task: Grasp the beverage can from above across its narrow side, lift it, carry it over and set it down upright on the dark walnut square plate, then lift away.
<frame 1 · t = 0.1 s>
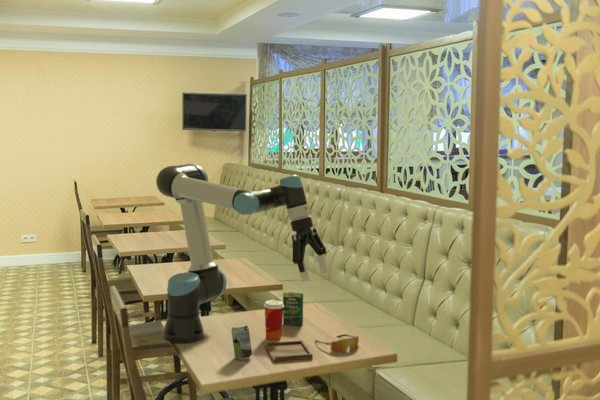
hand: (315, 276, 231), 28 cm above the table, tool tilted 20°, fingers open, 13 cm apart
sunglasses: (337, 346, 243), on the table
coffee box: (292, 324, 264), on the table
far plate: (288, 353, 233), on the table
beverage can: (241, 358, 228), on the table
paper cup: (273, 338, 248), on the table
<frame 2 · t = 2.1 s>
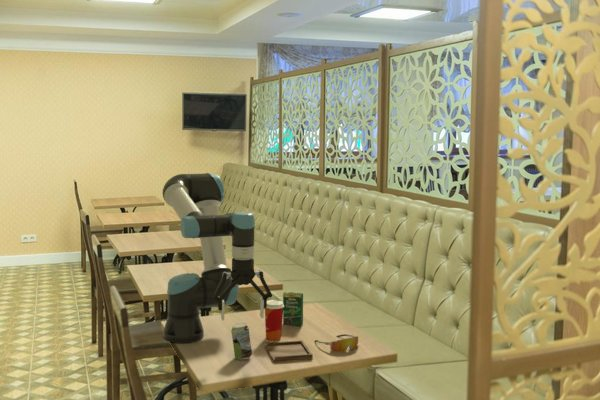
hand: (242, 318, 225), 14 cm above the table, tool pointing down, fingers open, 13 cm apart
nothing on the table moved.
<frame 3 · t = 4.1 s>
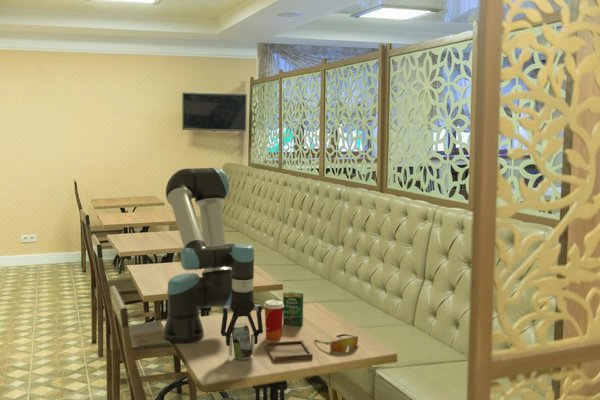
hand: (241, 353, 227), 2 cm above the table, tool pointing down, fingers closed on beverage can, 7 cm apart
beverage can: (241, 358, 228), on the table, touching gripper
everything else where it was.
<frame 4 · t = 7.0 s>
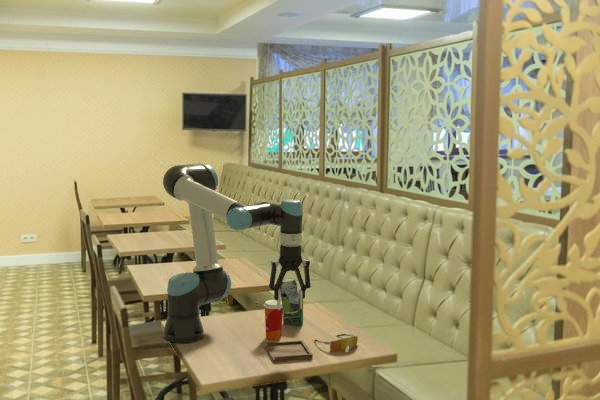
hand: (289, 307, 230), 17 cm above the table, tool pointing down, fingers closed on beverage can, 7 cm apart
beverage can: (289, 312, 231), point 15 cm above the table, touching gripper
everything else where it was.
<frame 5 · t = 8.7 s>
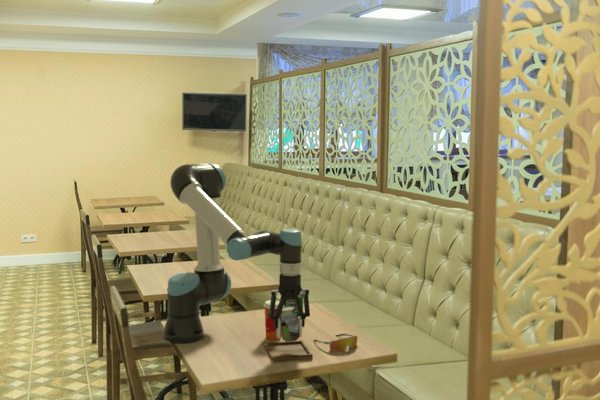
hand: (289, 336, 232), 6 cm above the table, tool pointing down, fingers closed on beverage can, 7 cm apart
beverage can: (288, 341, 232), point 5 cm above the table, touching gripper
everything else where it was.
when the fingers open (4 cm above the table, at t = 10.1 s): beverage can stays where it is, resting on far plate.
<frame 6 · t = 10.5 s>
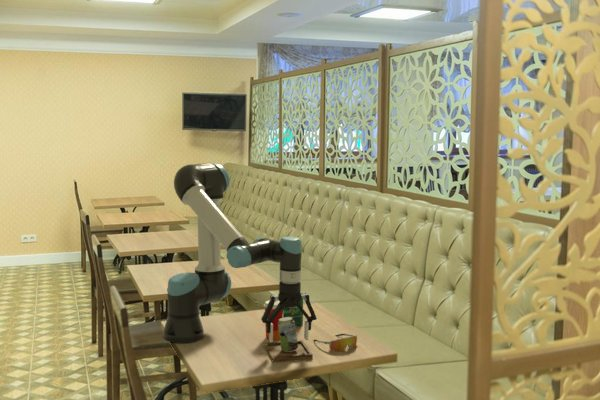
hand: (288, 340, 232), 5 cm above the table, tool pointing down, fingers open, 12 cm apart
beverage can: (287, 351, 233), point 1 cm above the table, touching far plate
everything else where it was.
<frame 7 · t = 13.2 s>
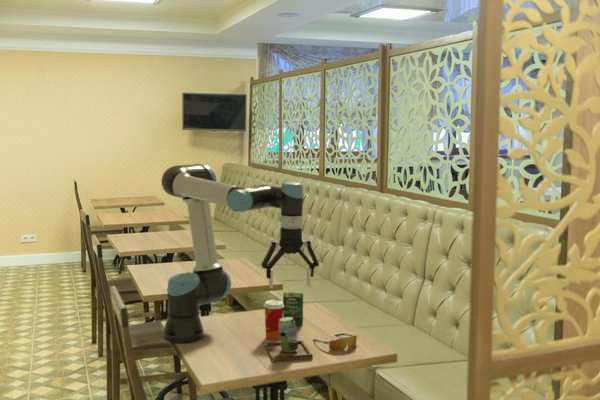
hand: (289, 286, 229), 24 cm above the table, tool pointing down, fingers open, 13 cm apart
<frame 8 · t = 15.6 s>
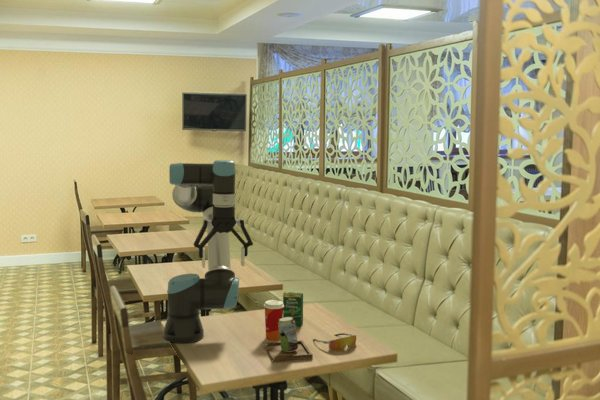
hand: (223, 266, 226), 32 cm above the table, tool pointing down, fingers open, 13 cm apart
at the end: beverage can inside the target area on the far plate (0.2 cm from its centre), point 0.8 cm above the far plate's base; beverage can tilted 0°; the gripper is holding nothing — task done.
